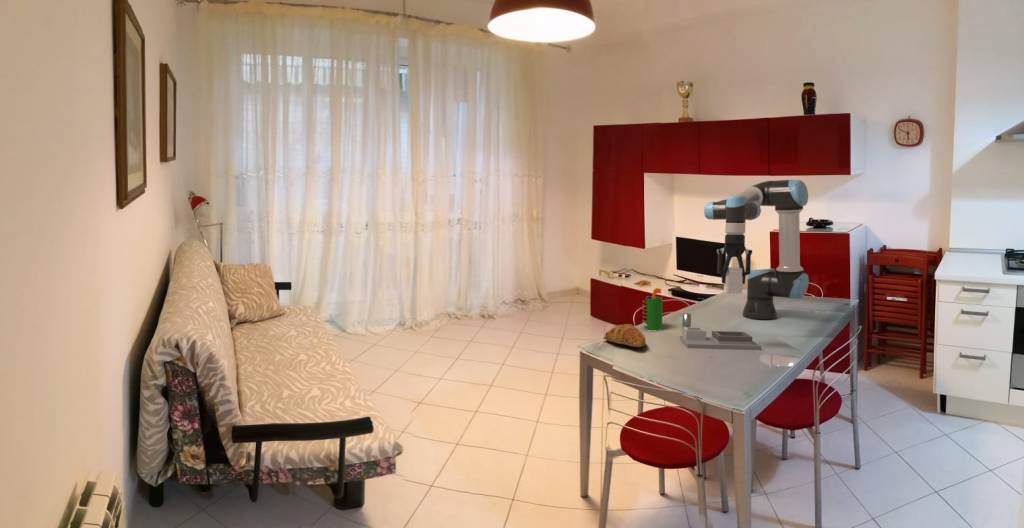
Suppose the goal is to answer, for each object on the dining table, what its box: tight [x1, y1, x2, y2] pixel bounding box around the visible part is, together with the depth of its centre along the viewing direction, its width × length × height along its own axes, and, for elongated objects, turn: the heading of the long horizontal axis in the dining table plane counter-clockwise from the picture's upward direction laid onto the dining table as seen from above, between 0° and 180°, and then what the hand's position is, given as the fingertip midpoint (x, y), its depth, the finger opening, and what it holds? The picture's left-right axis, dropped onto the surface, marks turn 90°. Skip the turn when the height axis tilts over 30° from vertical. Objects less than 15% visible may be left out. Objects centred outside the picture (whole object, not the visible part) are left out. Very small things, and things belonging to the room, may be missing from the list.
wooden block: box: [726, 266, 743, 294], centre depth 251 cm, size 5×6×10 cm
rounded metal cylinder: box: [681, 312, 692, 335], centre depth 270 cm, size 4×4×10 cm
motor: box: [642, 287, 663, 331], centre depth 280 cm, size 10×9×20 cm
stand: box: [679, 326, 762, 351], centre depth 253 cm, size 28×18×6 cm, turn 84°
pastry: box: [603, 323, 646, 348], centre depth 254 cm, size 21×13×8 cm, turn 40°
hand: (732, 291), depth 252 cm, fingers closed on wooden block, 5 cm apart
